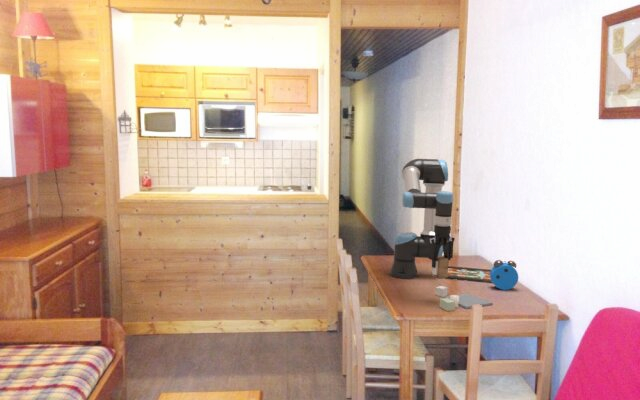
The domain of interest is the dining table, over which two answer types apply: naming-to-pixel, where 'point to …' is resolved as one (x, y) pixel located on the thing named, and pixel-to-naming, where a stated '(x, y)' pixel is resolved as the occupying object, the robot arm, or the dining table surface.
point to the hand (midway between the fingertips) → (439, 273)
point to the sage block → (447, 304)
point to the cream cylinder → (455, 300)
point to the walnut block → (442, 267)
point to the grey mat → (471, 300)
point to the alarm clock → (504, 275)
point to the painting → (469, 274)
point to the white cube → (441, 291)
